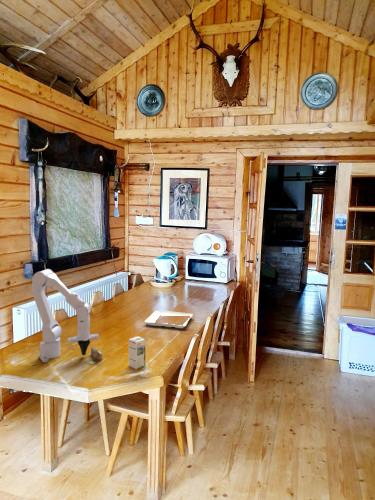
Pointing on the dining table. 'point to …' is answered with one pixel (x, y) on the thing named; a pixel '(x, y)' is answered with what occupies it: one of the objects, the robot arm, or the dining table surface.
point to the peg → (96, 354)
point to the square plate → (156, 314)
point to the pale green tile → (91, 362)
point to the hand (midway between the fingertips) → (83, 354)
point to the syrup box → (137, 352)
